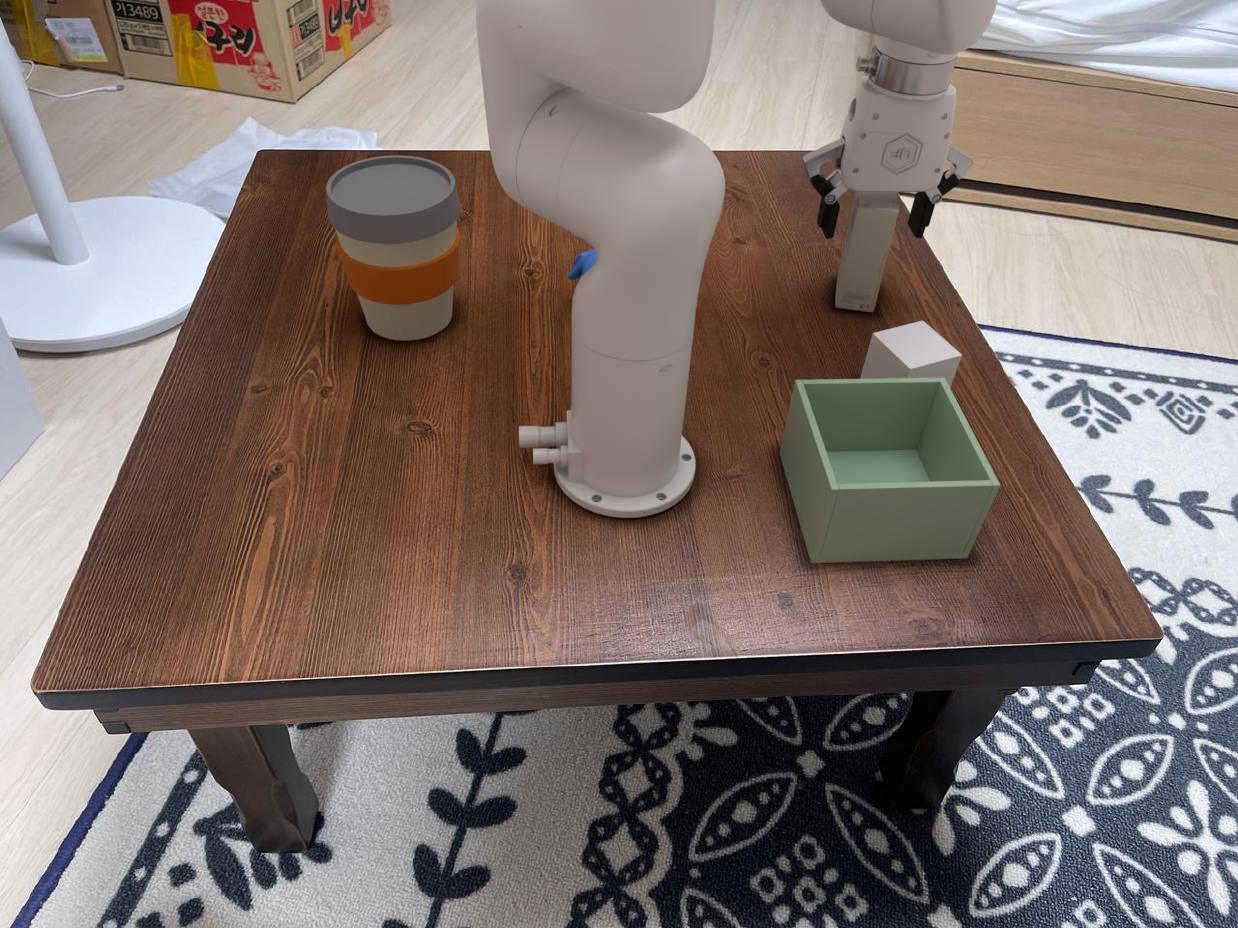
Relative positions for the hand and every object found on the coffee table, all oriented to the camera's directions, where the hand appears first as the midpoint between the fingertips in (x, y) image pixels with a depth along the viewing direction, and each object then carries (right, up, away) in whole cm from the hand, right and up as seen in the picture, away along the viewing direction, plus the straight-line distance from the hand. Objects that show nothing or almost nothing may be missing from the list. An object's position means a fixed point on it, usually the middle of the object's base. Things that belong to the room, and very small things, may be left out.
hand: (870, 232), depth 99 cm
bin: (-5, -28, -18) cm, 34 cm away
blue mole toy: (-26, -7, +3) cm, 27 cm away
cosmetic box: (0, -6, +6) cm, 8 cm away
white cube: (+1, -18, -7) cm, 19 cm away
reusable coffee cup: (-49, -9, 0) cm, 50 cm away
